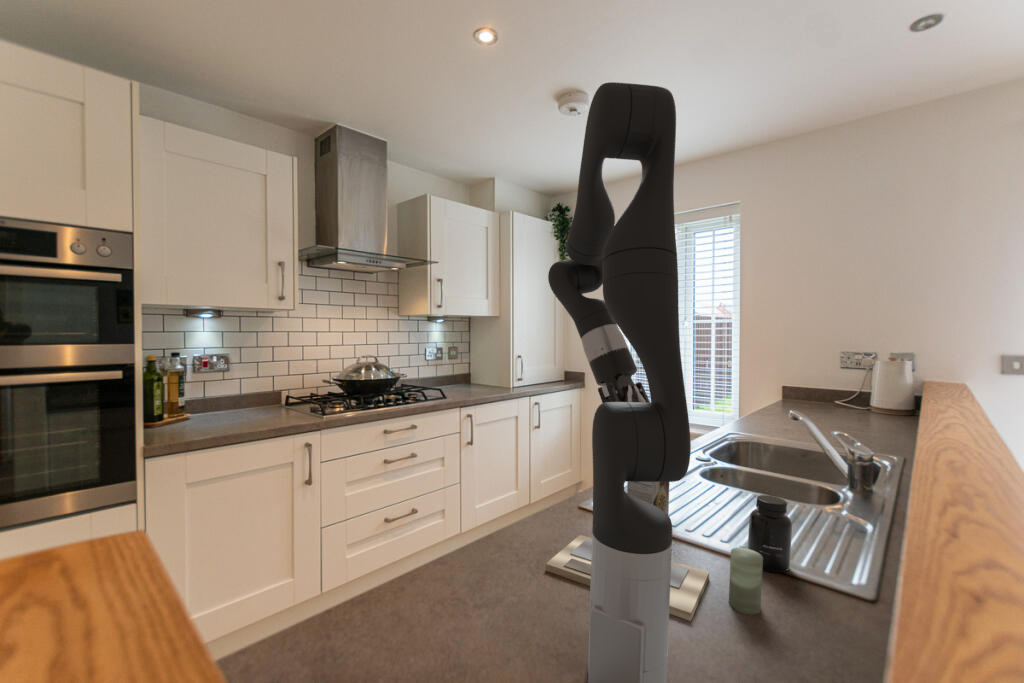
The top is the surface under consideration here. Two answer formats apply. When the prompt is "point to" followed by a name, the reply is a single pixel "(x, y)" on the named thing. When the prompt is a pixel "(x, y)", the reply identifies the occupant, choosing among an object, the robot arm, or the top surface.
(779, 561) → the supplement bottle
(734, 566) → the green cylinder
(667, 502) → the coffee box
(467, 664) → the top surface
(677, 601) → the board
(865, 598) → the top surface
